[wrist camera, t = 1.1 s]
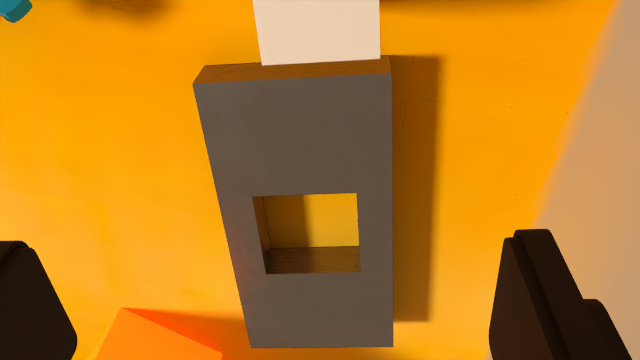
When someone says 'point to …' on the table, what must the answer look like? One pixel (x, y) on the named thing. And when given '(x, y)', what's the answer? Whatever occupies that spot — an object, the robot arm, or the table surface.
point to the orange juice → (146, 342)
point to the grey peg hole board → (303, 179)
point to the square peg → (317, 30)
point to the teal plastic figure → (14, 9)
